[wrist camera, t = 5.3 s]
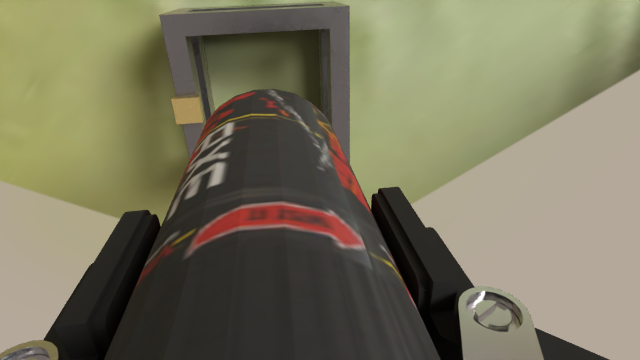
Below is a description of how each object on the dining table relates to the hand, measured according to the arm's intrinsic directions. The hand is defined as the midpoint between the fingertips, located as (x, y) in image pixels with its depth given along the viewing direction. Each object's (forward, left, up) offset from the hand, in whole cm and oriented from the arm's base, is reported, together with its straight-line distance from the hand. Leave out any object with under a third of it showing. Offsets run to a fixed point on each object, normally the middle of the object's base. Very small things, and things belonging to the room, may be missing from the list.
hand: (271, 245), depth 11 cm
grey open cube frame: (0, 0, -21) cm, 21 cm away
